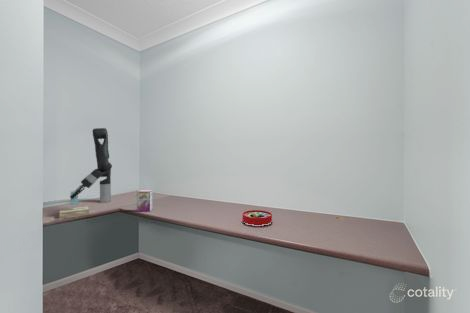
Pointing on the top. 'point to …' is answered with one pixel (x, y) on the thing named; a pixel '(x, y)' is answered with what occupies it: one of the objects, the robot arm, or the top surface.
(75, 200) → the teal block
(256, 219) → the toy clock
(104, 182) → the robot arm
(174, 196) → the top surface
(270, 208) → the top surface
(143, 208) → the candy bar box
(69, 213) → the birch plinth
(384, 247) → the top surface
